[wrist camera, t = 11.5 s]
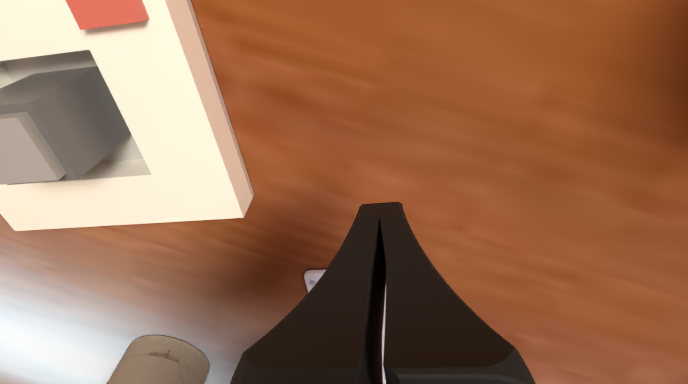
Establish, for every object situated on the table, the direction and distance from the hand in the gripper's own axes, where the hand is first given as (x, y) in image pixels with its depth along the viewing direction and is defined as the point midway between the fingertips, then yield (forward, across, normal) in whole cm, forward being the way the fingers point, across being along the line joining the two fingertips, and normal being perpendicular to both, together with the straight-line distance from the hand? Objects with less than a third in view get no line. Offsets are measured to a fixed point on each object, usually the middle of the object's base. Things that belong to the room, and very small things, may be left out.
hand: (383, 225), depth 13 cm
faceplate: (+10, +17, -2) cm, 20 cm away
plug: (+10, +17, -2) cm, 19 cm away
